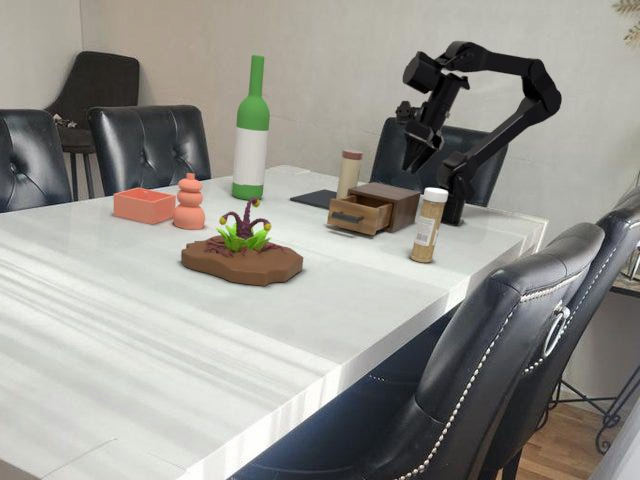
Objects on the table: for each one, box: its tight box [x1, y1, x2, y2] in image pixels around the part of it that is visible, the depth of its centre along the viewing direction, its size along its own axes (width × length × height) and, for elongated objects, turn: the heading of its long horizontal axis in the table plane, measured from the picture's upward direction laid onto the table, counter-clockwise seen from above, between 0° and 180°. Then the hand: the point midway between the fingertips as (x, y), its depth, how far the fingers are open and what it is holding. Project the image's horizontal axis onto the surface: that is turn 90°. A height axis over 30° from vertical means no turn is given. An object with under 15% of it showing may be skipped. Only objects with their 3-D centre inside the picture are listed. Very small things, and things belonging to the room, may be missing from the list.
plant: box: [180, 197, 304, 287], centre depth 112 cm, size 20×20×11 cm
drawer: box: [326, 194, 394, 236], centre depth 145 cm, size 19×11×5 cm, turn 150°
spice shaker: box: [336, 148, 364, 199], centre depth 166 cm, size 5×5×12 cm
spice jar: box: [410, 187, 448, 264], centre depth 128 cm, size 5×5×14 cm
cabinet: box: [347, 181, 422, 234], centre depth 155 cm, size 16×13×7 cm
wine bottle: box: [231, 54, 271, 201], centre depth 154 cm, size 8×8×30 cm
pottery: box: [112, 172, 206, 230], centre depth 132 cm, size 18×10×10 cm, turn 69°
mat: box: [289, 188, 337, 211], centre depth 169 cm, size 20×20×1 cm
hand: (408, 172), depth 156 cm, fingers open, 9 cm apart
